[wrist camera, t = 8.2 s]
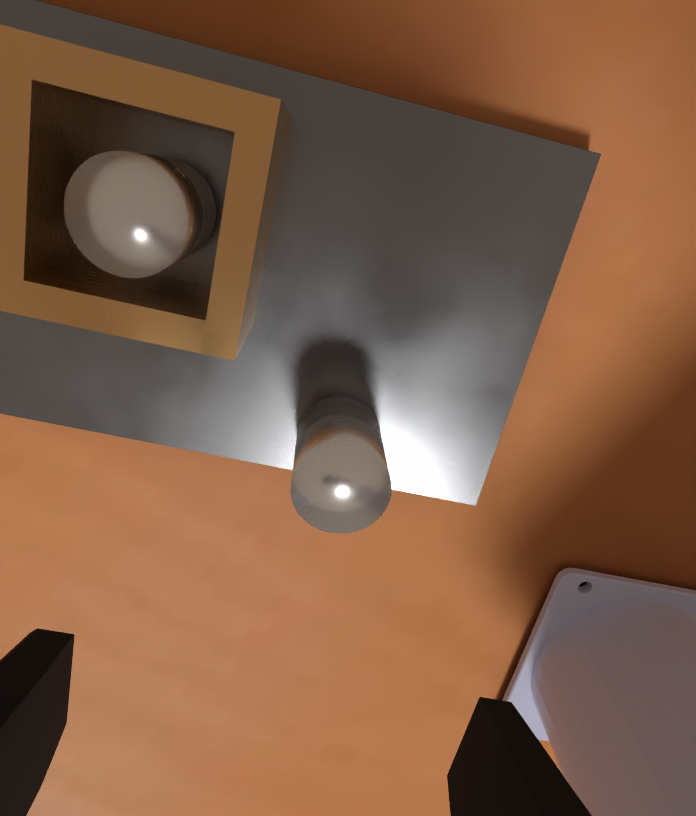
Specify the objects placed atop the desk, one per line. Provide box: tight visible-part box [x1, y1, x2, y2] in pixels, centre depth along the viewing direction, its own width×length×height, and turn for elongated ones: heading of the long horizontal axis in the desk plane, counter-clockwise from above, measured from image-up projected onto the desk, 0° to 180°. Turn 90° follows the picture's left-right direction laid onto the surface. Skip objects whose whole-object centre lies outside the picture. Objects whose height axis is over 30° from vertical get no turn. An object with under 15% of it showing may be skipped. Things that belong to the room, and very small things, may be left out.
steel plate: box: [0, 0, 601, 505], centre depth 17 cm, size 16×11×1 cm
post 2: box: [291, 396, 392, 533], centre depth 17 cm, size 3×3×4 cm
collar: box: [0, 24, 291, 361], centre depth 14 cm, size 6×6×4 cm
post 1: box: [64, 151, 216, 278], centre depth 14 cm, size 3×3×4 cm
